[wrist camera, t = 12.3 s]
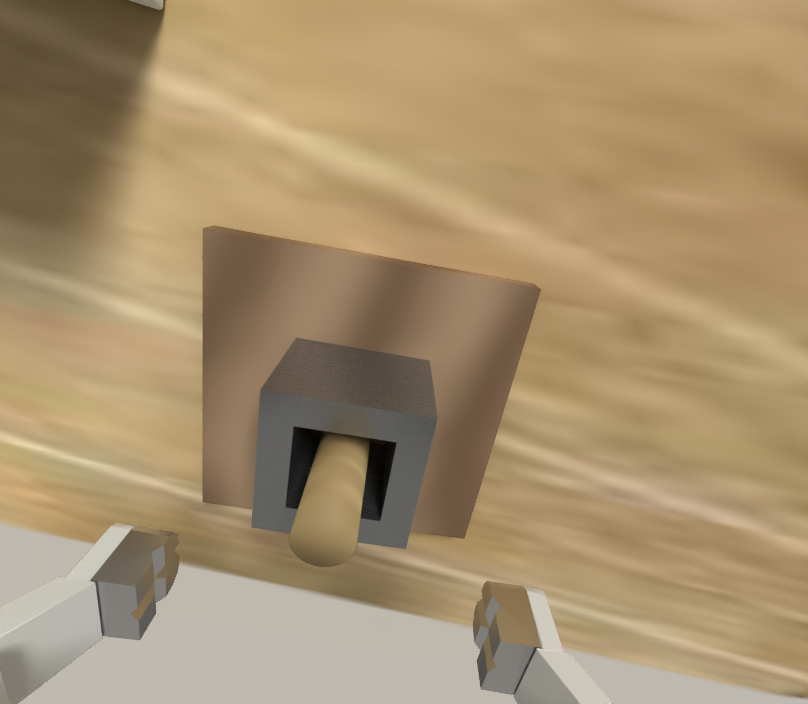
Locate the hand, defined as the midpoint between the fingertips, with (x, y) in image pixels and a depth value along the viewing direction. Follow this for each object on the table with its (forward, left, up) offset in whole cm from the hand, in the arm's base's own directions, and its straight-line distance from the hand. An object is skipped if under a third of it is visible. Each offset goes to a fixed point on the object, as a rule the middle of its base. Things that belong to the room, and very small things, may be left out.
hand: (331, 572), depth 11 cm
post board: (0, 0, -10) cm, 10 cm away
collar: (0, 0, -9) cm, 9 cm away
